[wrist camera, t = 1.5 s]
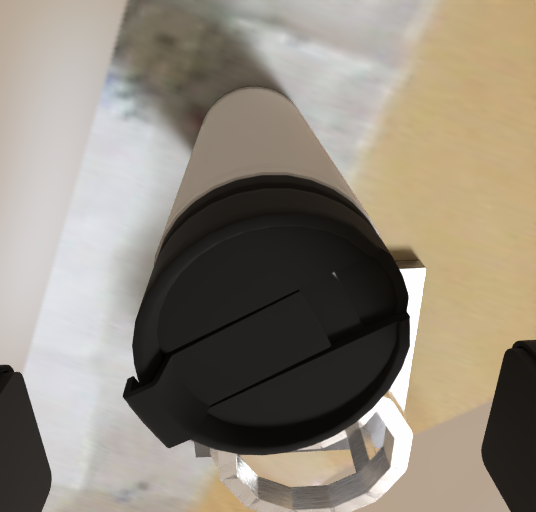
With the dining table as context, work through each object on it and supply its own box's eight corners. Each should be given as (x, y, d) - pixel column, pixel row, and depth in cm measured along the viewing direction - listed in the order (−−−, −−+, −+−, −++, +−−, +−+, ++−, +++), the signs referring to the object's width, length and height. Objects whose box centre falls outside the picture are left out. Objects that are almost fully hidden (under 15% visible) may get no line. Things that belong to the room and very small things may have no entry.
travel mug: (173, 122, 27) (44, 324, 9) (278, 64, 26) (365, 163, 8) (227, 213, 30) (210, 510, 12) (324, 164, 28) (469, 408, 11)
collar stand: (178, 268, 31) (157, 350, 23) (419, 259, 32) (477, 336, 24) (197, 445, 38) (186, 552, 30) (394, 434, 39) (432, 537, 31)
